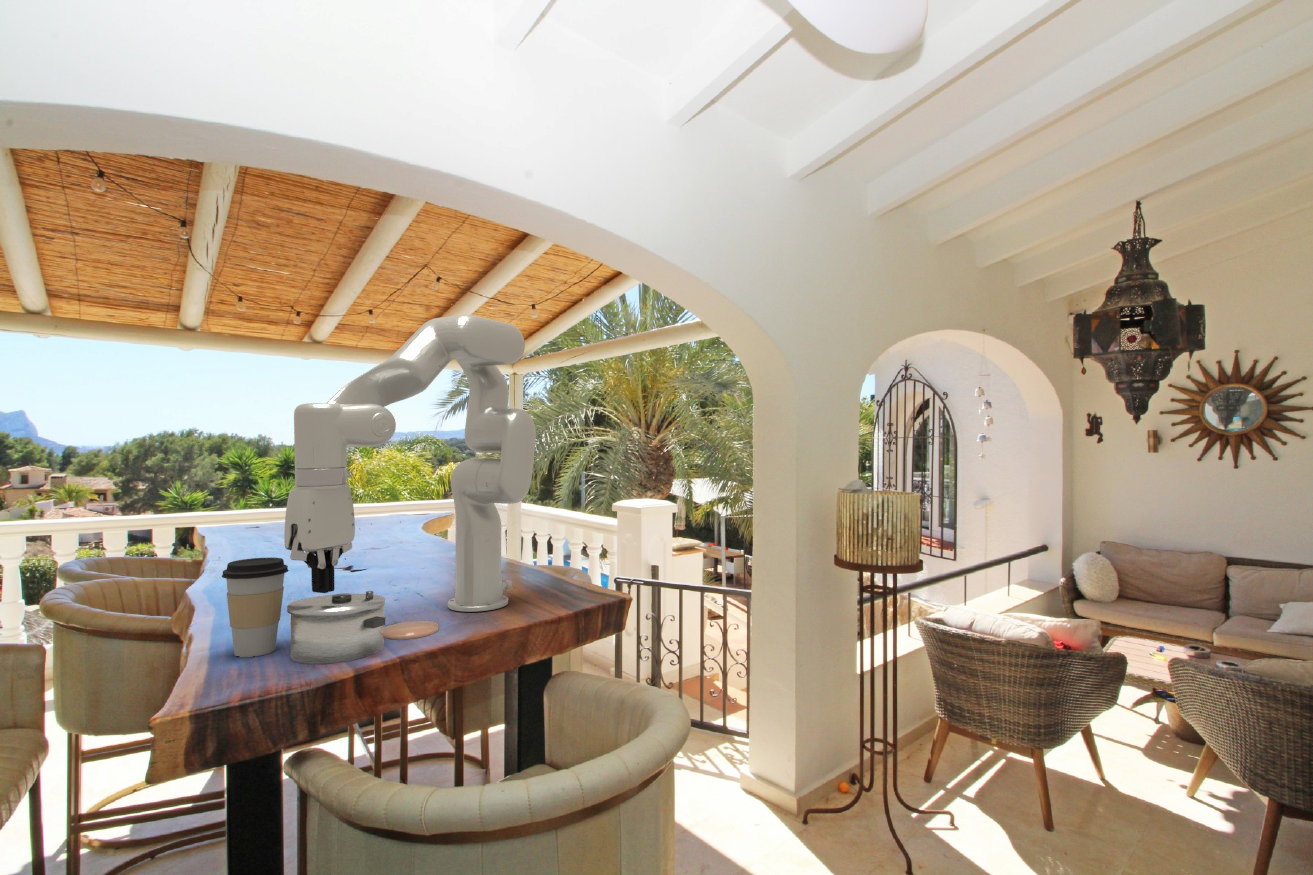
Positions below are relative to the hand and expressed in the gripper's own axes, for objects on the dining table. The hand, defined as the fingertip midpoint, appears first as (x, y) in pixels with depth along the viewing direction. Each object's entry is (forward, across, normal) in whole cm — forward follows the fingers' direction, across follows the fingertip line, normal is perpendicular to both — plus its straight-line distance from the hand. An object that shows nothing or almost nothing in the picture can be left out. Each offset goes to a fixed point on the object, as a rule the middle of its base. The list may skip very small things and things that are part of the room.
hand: (323, 591), depth 104 cm
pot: (+10, -3, 0) cm, 11 cm away
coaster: (+11, -16, +3) cm, 19 cm away
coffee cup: (+10, +3, -12) cm, 16 cm away
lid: (+3, -3, 0) cm, 4 cm away
